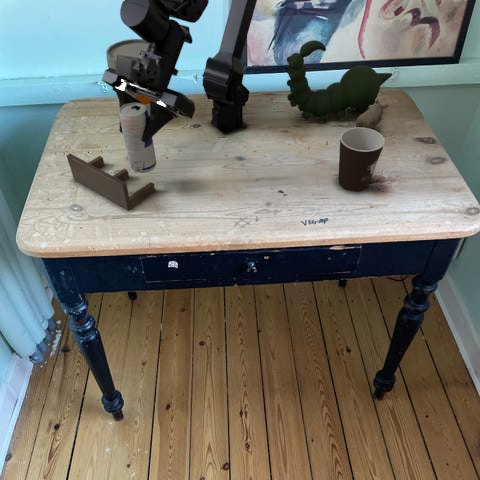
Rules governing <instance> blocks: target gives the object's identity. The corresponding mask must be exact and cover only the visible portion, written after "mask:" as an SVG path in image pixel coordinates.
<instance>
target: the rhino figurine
mask: <svg viewBox="0 0 480 480" xmlns="http://www.w3.org/2000/svg"><path fill="white" fill-rule="evenodd" d="M388 107H389V103H385V104H382V103H380V100H379V99H376V100H375V103H374V104H373V105H371V106H369V109H368V110H367V111H366V112H364V113H363V114H361V115H360V114H359V116H358V117H357V119H356V121H355V128H358V127H361V128H369V129H372V130H375V131H376V130H377V129H376V128H377V126H378V125H379V123H380V122H381V121H382V118H383V114H384V109H385V108H388Z"/></svg>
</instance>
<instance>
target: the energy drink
mask: <svg viewBox="0 0 480 480" xmlns="http://www.w3.org/2000/svg"><path fill="white" fill-rule="evenodd" d="M118 112H119V113H118V118H119V123H120V122H121V127H122V132H123V133H122V135H123V140H124V145H125V149H126V154H127V159H128V163H129V167H130V169H131V170H132V171H134V172H135V173H137V174H147V173H149V172H152V171H153V170H154V169H155V168H156V166H157V157H156V152H155V146H154V139H153V137H152V138H151V139H150V140H148V141H147V142H146V143H144V142H142V136H143V132H144V129H145V126H146V123H147V120H148V118H149V115H148V111H147V109H146V107H145V105H143V104H140V103H129V104H126V105H123V106H122V107H121V108H120V107H119V110H118Z"/></svg>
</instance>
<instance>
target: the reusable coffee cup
mask: <svg viewBox="0 0 480 480" xmlns="http://www.w3.org/2000/svg"><path fill="white" fill-rule="evenodd" d="M148 45H149V43H147V42H146V41H144V40H143V39H142V38H130V39H123V40H120V41H117V42H114V43H112V44H111V45H109V47H107V49H106V51H105V54H106V63H107V69H109V68H112V69H115V70H116V61H117V55H123V56H130V57H136V58H137V57H138V55H139V53H140V52H141V50H142V51H147V48H148ZM136 95H137V96H136V99H137V100H138V101H140V102H142V103H141V104H143V105H145V107H146V109H147V111H148V115H150V101H153V102H155V103H157V101H155V100H153V99H150V98H147V97H145V96H142V95H139V94H136ZM116 97H117V99H118V100H119V98H118V96H117V95H116Z"/></svg>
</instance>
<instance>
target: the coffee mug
mask: <svg viewBox="0 0 480 480" xmlns="http://www.w3.org/2000/svg"><path fill="white" fill-rule="evenodd" d="M385 142H386V140H385V137H384V136H383V134H382V133H380V131H379V130H377V129H376V131H375V130H372V129H369V128H361V127H358V128H356V127H351V128H347V129H345V130H344V131H342V132H341V134H340V135H339V157H338V158H339V159H338V181H337V183H338V185H339V186H340V188H342V189H343V190H346V191H348V192H353V193H354V192H355V193H357V192H362V191H365V190H366V189H368V187H369V185H370V183H371V180H372V177H373V175H374V172H375V170H376V167H377V164H378V161H379V159H380V157H381V153H382V151H383V148H384V145H385V144H386V143H385Z"/></svg>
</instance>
